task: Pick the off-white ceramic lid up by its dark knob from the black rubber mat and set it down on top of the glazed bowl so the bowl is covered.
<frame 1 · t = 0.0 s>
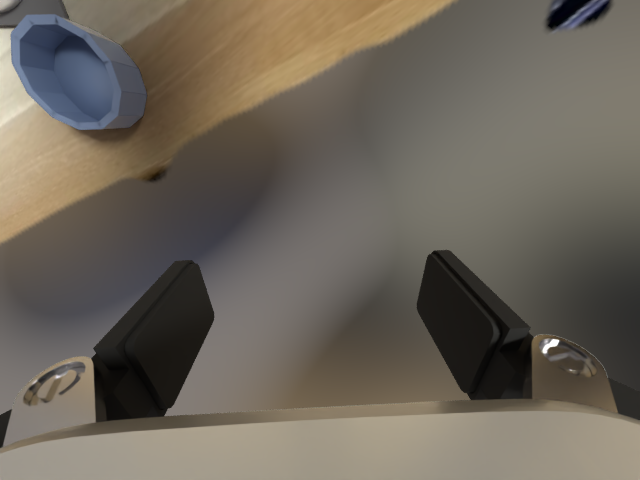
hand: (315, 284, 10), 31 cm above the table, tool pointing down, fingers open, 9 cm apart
bowl: (102, 83, 32), on the table
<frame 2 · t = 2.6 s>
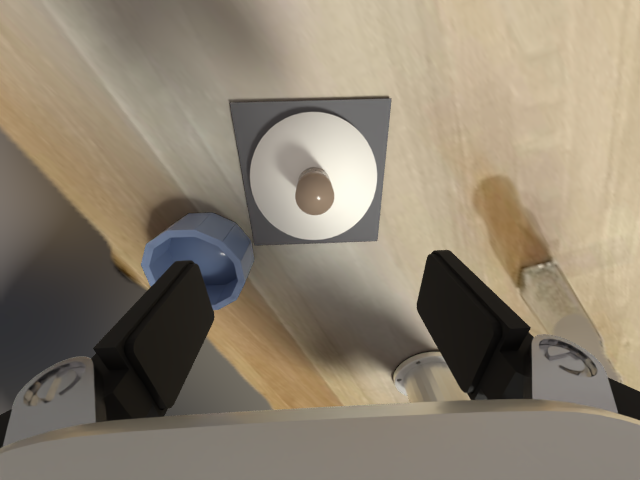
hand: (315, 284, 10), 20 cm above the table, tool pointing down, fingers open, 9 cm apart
lid: (314, 181, 27), resting on mat
mat: (313, 180, 27), on the table
bowl: (211, 251, 31), on the table
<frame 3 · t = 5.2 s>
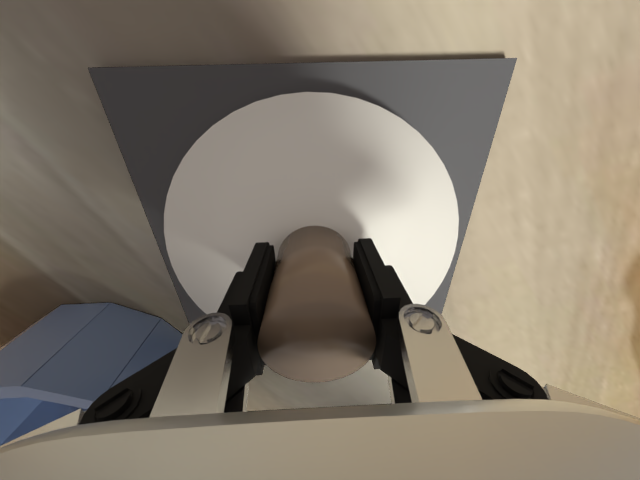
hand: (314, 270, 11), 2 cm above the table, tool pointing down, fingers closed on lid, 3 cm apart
lid: (314, 248, 12), point 1 cm above the table, touching gripper, mat
mat: (314, 244, 13), on the table
bowl: (123, 361, 17), on the table
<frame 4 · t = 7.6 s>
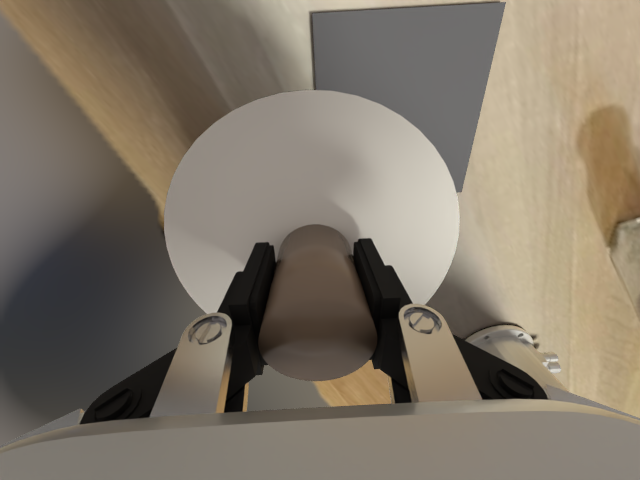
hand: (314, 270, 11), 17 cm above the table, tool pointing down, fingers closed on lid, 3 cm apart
lid: (314, 247, 12), point 15 cm above the table, touching gripper
mat: (397, 117, 23), on the table
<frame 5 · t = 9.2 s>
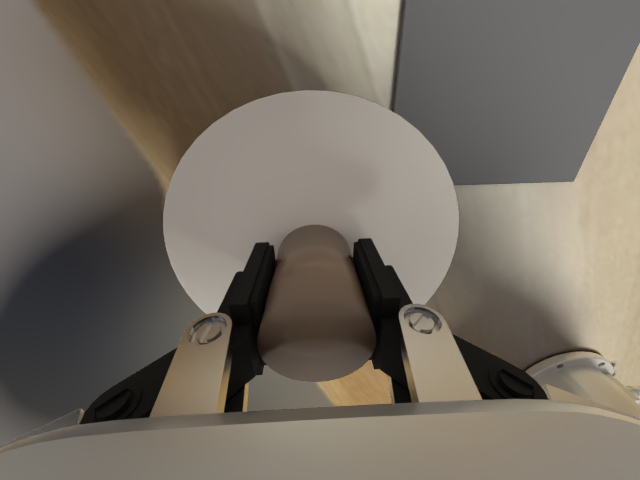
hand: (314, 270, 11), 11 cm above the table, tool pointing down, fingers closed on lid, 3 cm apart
lid: (314, 248, 12), point 9 cm above the table, touching gripper
mat: (509, 69, 16), on the table
when the fingers open (8 cm above the table, at t = 10.3 s): lid drops 1 cm, resting on bowl.
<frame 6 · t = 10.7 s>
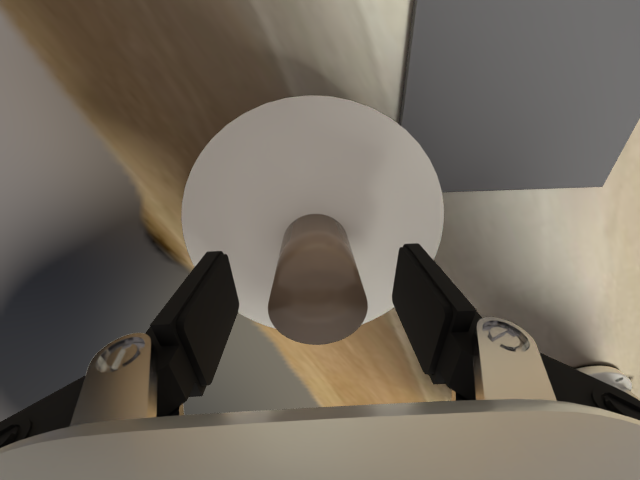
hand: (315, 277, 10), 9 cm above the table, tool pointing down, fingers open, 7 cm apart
lid: (315, 236, 14), point 5 cm above the table, touching bowl
mat: (536, 59, 14), on the table
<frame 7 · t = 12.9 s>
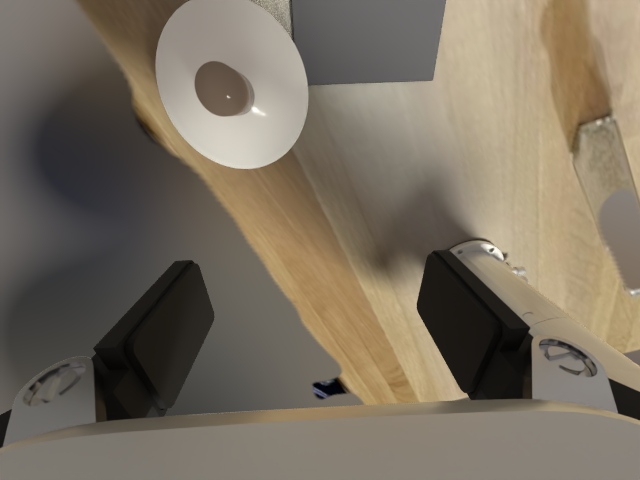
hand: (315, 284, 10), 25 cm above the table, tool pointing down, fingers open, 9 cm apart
lid: (237, 94, 23), point 5 cm above the table, touching bowl
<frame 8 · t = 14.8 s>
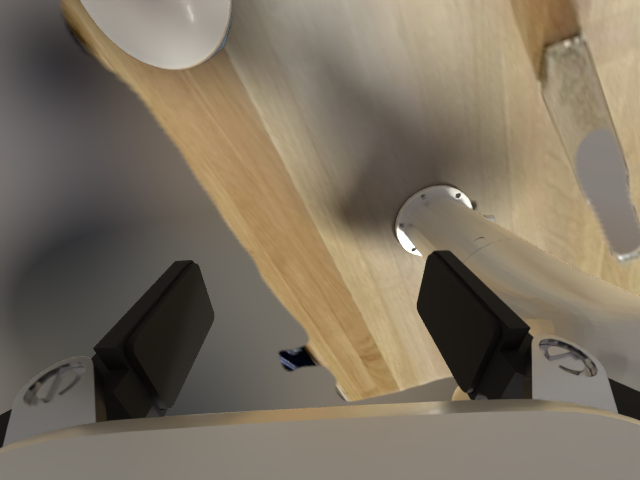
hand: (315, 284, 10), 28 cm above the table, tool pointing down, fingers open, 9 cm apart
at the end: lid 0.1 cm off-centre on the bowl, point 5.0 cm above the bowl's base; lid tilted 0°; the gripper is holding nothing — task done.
